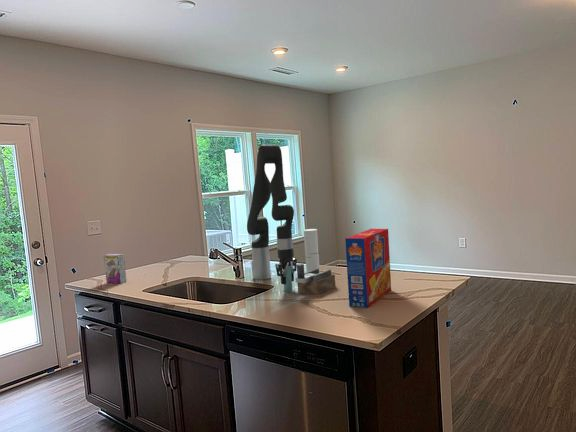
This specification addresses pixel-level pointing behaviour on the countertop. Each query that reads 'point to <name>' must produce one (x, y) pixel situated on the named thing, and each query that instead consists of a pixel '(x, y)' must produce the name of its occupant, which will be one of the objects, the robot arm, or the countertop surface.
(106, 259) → the candy bar box
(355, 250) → the pasta box
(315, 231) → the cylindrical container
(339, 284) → the countertop surface
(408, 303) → the countertop surface
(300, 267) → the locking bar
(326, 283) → the socket block
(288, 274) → the teal peg
